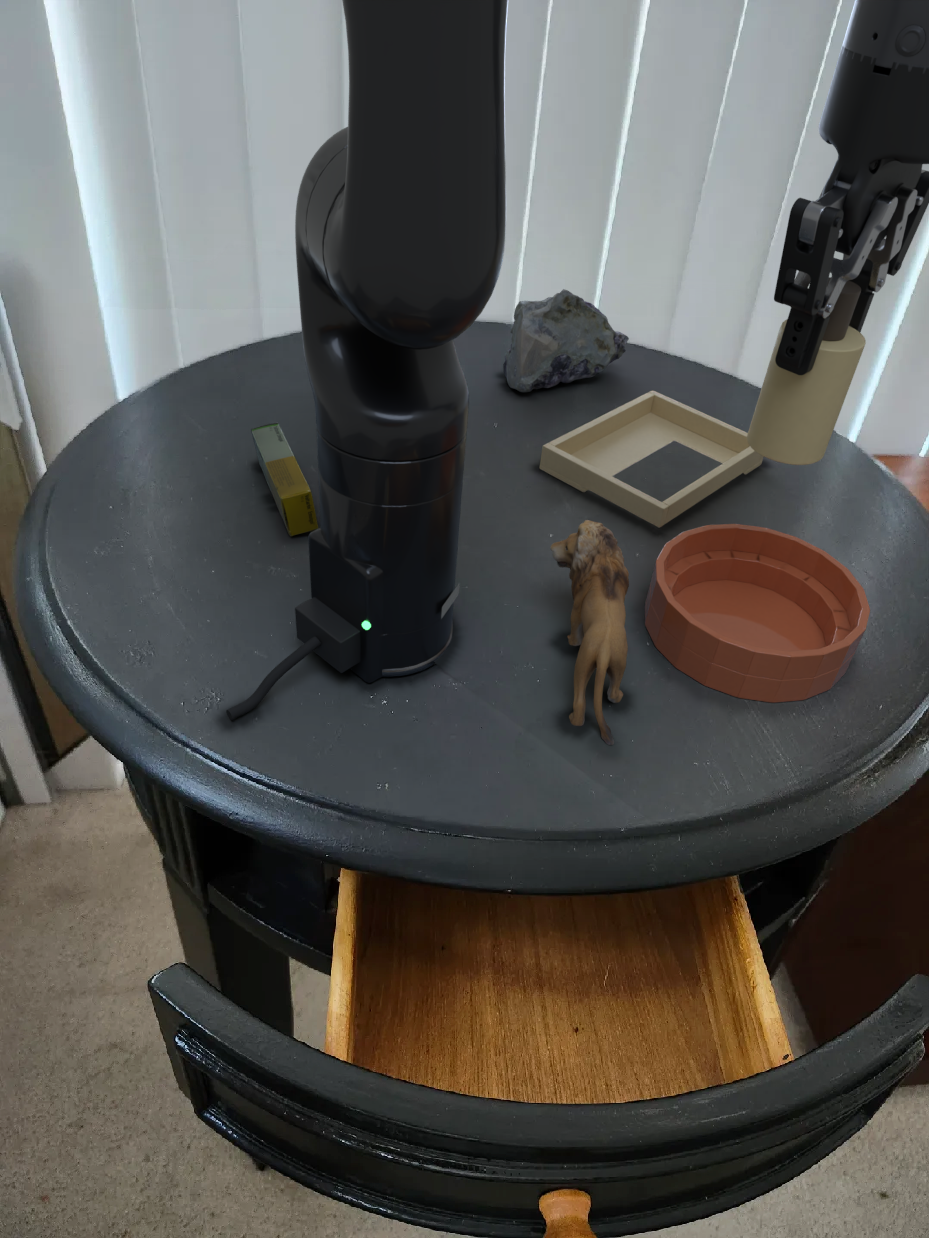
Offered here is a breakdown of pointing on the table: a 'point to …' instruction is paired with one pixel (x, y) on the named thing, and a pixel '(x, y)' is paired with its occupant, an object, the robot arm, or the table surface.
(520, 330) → the mineral rock
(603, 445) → the tray
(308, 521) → the medication box
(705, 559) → the bowl
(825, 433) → the bottle
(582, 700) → the lion figurine
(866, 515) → the table surface
